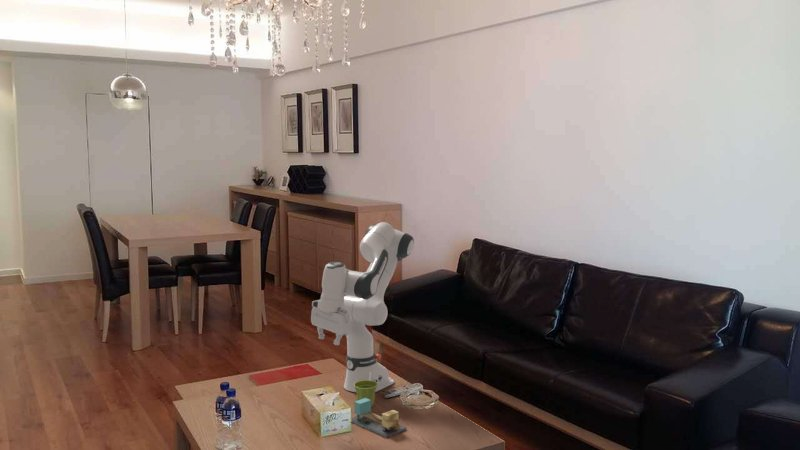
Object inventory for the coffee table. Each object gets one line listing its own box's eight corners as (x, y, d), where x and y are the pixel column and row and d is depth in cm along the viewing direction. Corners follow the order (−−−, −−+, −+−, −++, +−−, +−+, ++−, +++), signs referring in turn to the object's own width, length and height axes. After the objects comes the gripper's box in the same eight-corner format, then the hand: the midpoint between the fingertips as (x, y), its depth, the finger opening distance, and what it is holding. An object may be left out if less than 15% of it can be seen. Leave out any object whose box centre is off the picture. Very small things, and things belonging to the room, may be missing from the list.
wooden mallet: (365, 413, 256) (365, 398, 255) (400, 428, 242) (400, 412, 242) (354, 417, 252) (354, 402, 251) (389, 433, 238) (389, 416, 238)
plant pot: (349, 407, 264) (349, 386, 264) (360, 399, 273) (359, 378, 272) (371, 411, 261) (371, 389, 260) (381, 402, 270) (381, 381, 269)
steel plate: (369, 414, 258) (369, 411, 258) (406, 429, 244) (406, 426, 244) (349, 421, 251) (349, 418, 251) (386, 438, 237) (386, 435, 237)
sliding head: (365, 413, 256) (365, 397, 255) (370, 415, 254) (370, 400, 253) (354, 417, 252) (354, 401, 251) (359, 419, 250) (359, 403, 249)
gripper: (355, 310, 247) (352, 347, 248) (322, 300, 262) (319, 334, 263) (342, 311, 243) (339, 349, 244) (309, 300, 258) (306, 336, 259)
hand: (328, 341), depth 253 cm, fingers open, 8 cm apart
